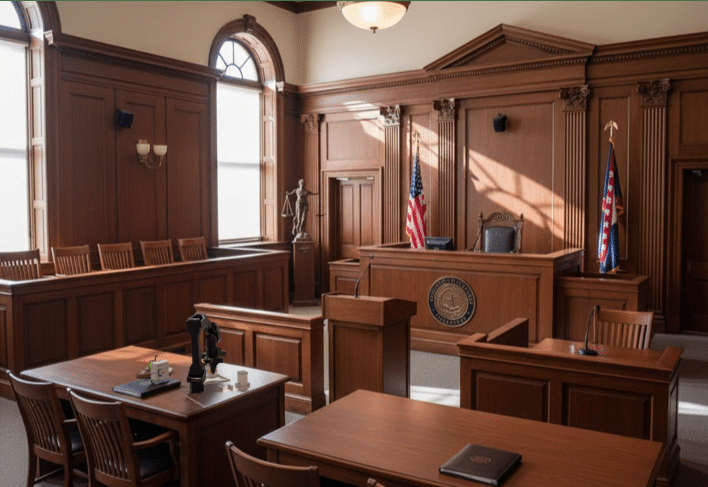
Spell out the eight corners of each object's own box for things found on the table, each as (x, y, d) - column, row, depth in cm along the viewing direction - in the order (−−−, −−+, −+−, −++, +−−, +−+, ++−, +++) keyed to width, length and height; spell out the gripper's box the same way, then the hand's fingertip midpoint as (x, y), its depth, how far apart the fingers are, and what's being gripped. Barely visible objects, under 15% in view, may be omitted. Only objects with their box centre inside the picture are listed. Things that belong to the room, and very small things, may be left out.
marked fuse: (210, 379, 365) (209, 364, 365) (206, 377, 369) (206, 363, 368) (217, 377, 368) (216, 363, 367) (213, 376, 371) (213, 362, 371)
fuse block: (221, 394, 343) (221, 388, 343) (214, 390, 351) (214, 385, 350) (253, 388, 354) (253, 383, 354) (245, 385, 361) (245, 379, 361)
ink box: (163, 380, 371) (163, 359, 371) (169, 381, 368) (169, 360, 368) (150, 383, 364) (150, 362, 364) (156, 385, 361) (156, 363, 361)
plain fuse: (240, 387, 352) (240, 373, 352) (237, 386, 355) (237, 371, 355) (247, 386, 355) (247, 371, 354) (244, 384, 358) (244, 370, 357)
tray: (204, 386, 358) (204, 383, 358) (193, 380, 370) (193, 377, 370) (230, 382, 367) (230, 378, 366) (218, 376, 379) (218, 373, 379)
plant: (178, 370, 394) (178, 351, 394) (165, 379, 375) (165, 359, 374) (146, 369, 397) (146, 351, 396) (132, 378, 377) (131, 358, 377)
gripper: (231, 346, 364) (232, 374, 365) (217, 340, 379) (218, 367, 380) (213, 349, 358) (213, 377, 359) (199, 343, 373) (199, 370, 374)
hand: (211, 373), depth 368 cm, fingers closed on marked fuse, 4 cm apart
